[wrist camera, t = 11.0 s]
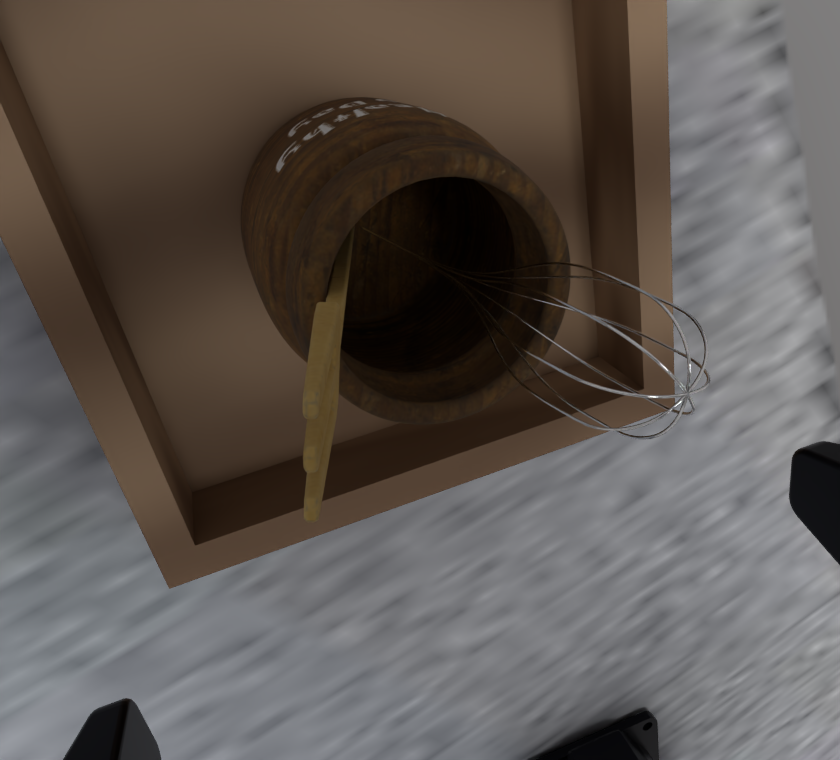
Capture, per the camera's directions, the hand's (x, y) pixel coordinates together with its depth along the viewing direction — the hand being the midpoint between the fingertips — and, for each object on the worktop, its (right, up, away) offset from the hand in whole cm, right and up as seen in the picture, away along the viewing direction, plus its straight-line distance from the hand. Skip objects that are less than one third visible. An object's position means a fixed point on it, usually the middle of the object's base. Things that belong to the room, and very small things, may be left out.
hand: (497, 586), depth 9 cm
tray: (-3, +7, +10) cm, 13 cm away
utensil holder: (-3, +7, +10) cm, 12 cm away
